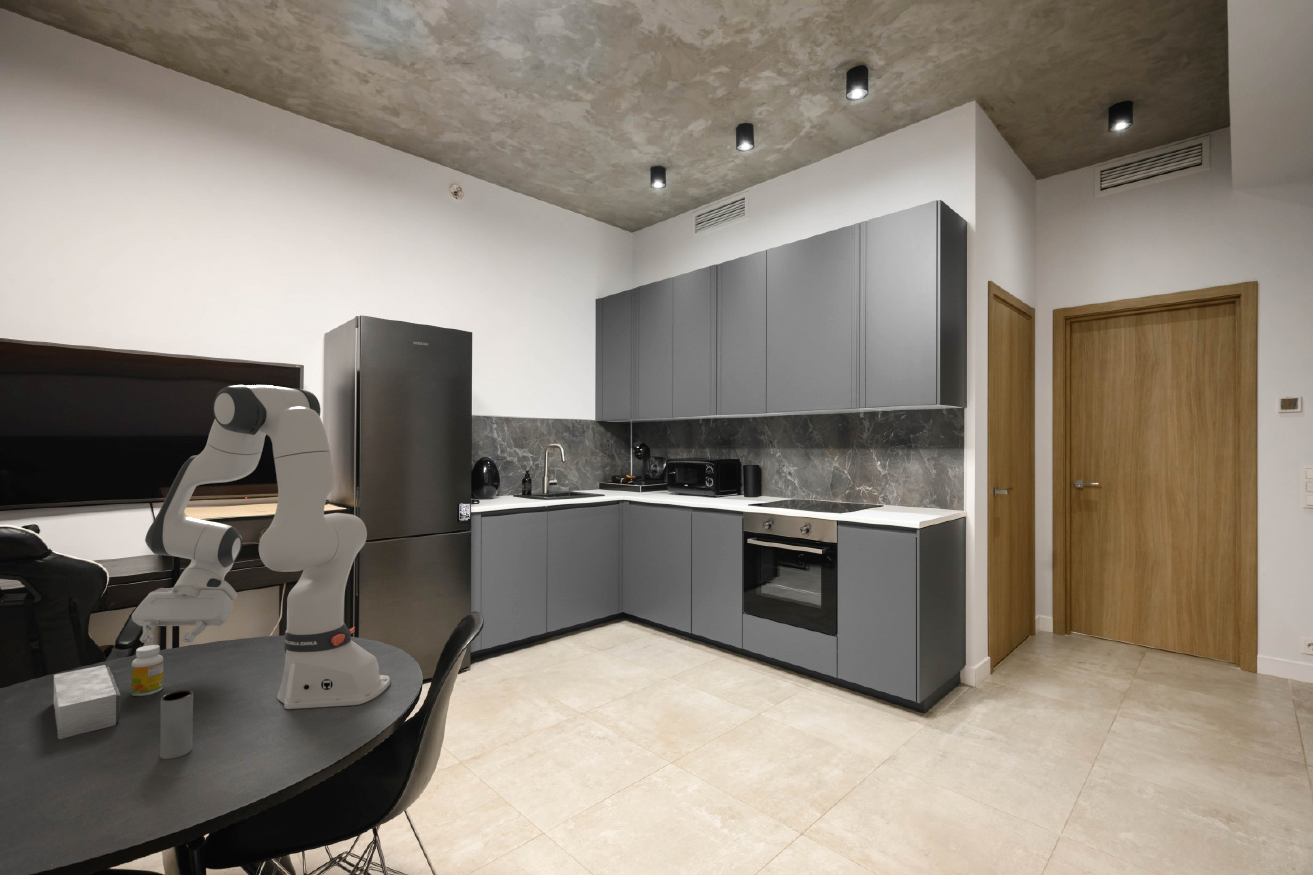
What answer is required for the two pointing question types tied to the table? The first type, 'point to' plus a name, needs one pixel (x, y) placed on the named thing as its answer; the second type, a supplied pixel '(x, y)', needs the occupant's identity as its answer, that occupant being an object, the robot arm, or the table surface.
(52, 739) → the table surface
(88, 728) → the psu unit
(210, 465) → the robot arm
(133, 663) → the supplement bottle
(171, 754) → the planter
